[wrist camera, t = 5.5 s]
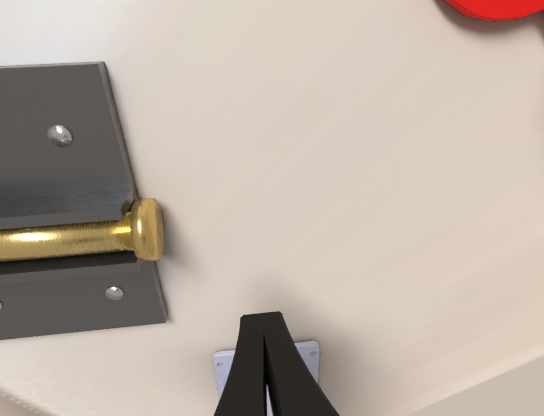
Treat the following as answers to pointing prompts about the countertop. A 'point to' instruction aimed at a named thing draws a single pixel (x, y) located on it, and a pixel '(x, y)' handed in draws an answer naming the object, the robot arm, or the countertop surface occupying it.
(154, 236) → the pin
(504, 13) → the tow hook
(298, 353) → the robot arm
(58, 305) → the hinge
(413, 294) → the countertop surface
